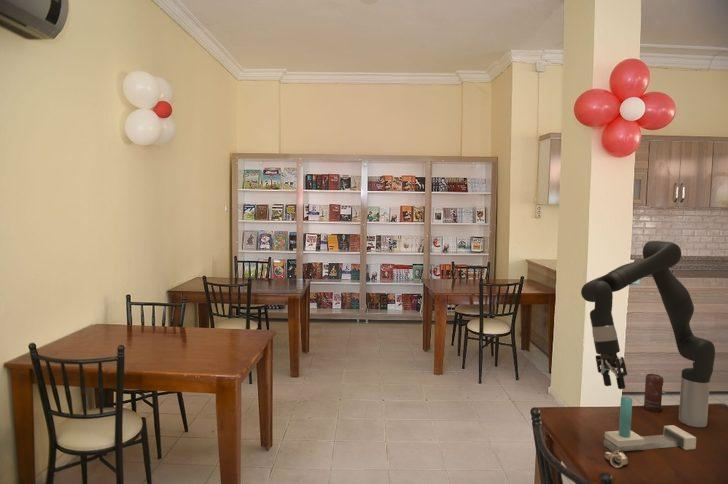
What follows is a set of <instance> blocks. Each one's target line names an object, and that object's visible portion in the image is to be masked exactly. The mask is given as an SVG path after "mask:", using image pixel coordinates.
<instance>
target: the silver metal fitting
mask: <svg viewBox="0 0 728 484" xmlns="http://www.w3.org/2000/svg"><path fill="white" fill-rule="evenodd" d="M619 451H620V450H619V449H618V450H616V451H614V452H612V451H610V452H609V451H605V452H604V457H605V458H606V460H608V461H609V463H610V465H612V467H614V468H616V469H620V468H622V467H623V466H626V465H627V464H629V463H628V462H629V460H628V459H629V457H627V455H625V453H624V451H622V452H619Z"/></svg>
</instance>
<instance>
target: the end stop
mask: <svg viewBox="0 0 728 484" xmlns="http://www.w3.org/2000/svg"><path fill="white" fill-rule="evenodd" d="M667 434H668V435H669V436H671V437H673V438H674V439H676V440H678V441H679V443H678V447H680V448H682V449H683V450H685V451H689V450H697V449H696V448H697V447H696V446H697V437H696V436H695V435H692V434H691V433H689V432H687V431H685V430H683V429H682V428H680V427H678V426H676V425H674V424H671V425H670V424H669V425H663V434H662V435H667Z"/></svg>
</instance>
